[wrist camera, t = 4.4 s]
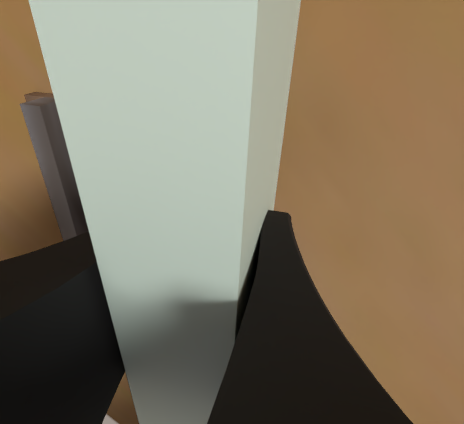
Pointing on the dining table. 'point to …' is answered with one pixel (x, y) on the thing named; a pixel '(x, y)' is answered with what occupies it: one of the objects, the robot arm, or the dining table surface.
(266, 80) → the door panel
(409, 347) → the dining table surface
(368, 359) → the dining table surface
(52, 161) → the bottom track
